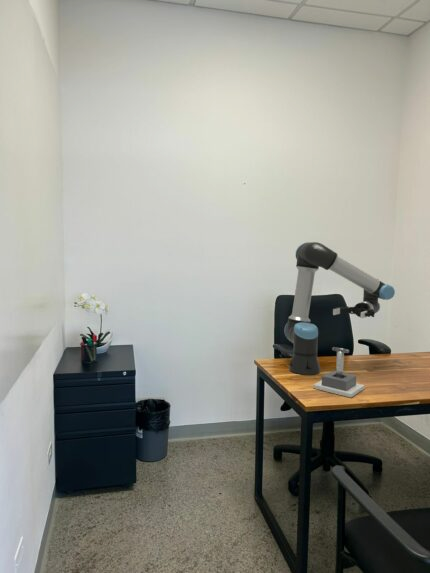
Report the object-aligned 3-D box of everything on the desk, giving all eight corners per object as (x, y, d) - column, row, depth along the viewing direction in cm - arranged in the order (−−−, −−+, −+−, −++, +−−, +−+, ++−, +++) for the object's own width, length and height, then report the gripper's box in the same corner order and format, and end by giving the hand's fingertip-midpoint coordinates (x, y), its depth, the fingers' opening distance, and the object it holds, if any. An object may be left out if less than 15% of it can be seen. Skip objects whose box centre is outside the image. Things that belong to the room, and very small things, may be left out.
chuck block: (313, 388, 176) (313, 375, 175) (327, 380, 187) (328, 368, 187) (351, 397, 165) (351, 384, 164) (364, 388, 176) (365, 376, 176)
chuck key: (329, 383, 177) (330, 347, 176) (332, 382, 179) (333, 346, 178) (346, 387, 172) (347, 350, 171) (348, 386, 175) (350, 349, 173)
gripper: (388, 319, 201) (373, 324, 185) (340, 313, 218) (322, 318, 201) (388, 304, 201) (374, 308, 185) (340, 300, 217) (323, 303, 201)
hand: (347, 313), depth 193 cm, fingers open, 13 cm apart
